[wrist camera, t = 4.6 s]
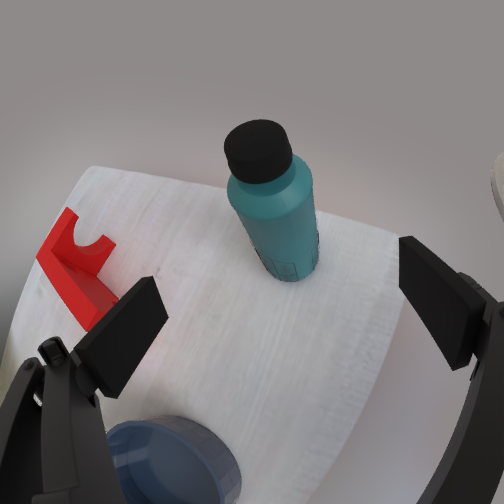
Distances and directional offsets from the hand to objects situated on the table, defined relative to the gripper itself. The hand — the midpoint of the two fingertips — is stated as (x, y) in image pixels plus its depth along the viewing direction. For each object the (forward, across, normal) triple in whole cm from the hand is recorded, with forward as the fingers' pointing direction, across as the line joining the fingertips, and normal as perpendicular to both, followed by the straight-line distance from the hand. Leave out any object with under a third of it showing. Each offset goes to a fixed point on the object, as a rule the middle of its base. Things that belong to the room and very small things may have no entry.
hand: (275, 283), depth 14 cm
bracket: (+18, -26, -7) cm, 32 cm away
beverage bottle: (+18, 0, -7) cm, 20 cm away
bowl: (0, -16, -25) cm, 30 cm away
